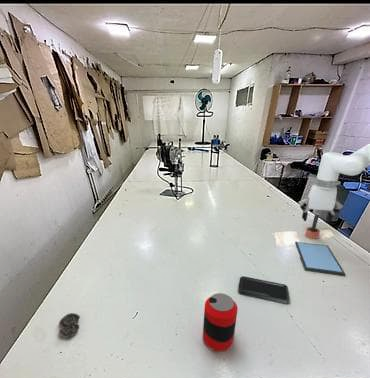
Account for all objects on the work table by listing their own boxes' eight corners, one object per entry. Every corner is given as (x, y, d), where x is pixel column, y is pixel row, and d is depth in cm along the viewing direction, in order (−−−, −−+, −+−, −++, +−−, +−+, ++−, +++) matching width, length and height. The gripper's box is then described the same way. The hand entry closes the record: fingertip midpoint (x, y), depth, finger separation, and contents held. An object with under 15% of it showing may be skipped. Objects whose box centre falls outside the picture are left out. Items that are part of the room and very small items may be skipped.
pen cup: (316, 235, 110) (318, 227, 109) (319, 241, 105) (321, 233, 104) (303, 234, 111) (305, 226, 110) (306, 239, 106) (308, 231, 105)
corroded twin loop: (58, 342, 57) (57, 339, 57) (60, 318, 64) (59, 315, 64) (80, 335, 59) (80, 332, 59) (80, 313, 66) (79, 310, 65)
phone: (240, 275, 80) (287, 284, 76) (240, 278, 81) (286, 287, 76) (237, 290, 73) (289, 301, 69) (237, 293, 74) (288, 304, 70)
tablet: (327, 247, 100) (327, 245, 100) (344, 276, 83) (345, 273, 82) (294, 243, 103) (295, 241, 103) (304, 270, 85) (305, 268, 85)
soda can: (204, 324, 63) (206, 288, 58) (233, 328, 62) (237, 292, 57) (201, 349, 56) (203, 311, 51) (233, 354, 55) (238, 316, 50)
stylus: (312, 235, 109) (319, 211, 104) (313, 237, 107) (320, 213, 102) (308, 235, 109) (315, 211, 104) (309, 237, 108) (316, 212, 103)
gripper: (345, 182, 99) (334, 219, 106) (301, 179, 103) (293, 215, 110) (352, 187, 93) (340, 226, 100) (305, 184, 96) (296, 222, 103)
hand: (315, 220), depth 105 cm, fingers open, 9 cm apart
